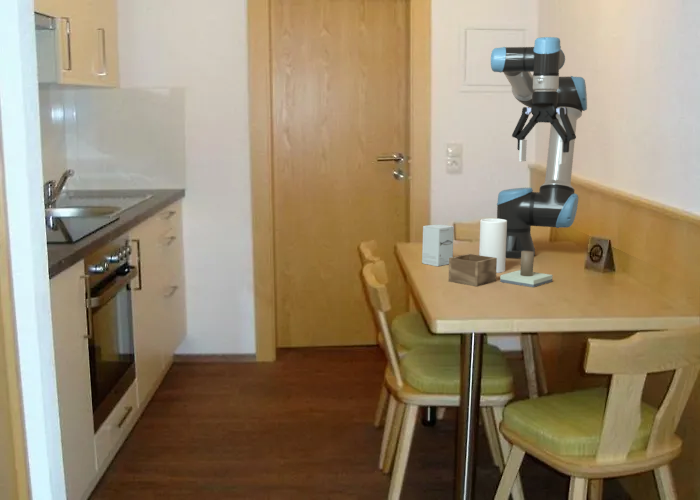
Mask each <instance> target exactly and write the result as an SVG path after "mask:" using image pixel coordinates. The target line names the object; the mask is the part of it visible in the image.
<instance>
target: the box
mask: <svg viewBox="0 0 700 500" xmlns="http://www.w3.org/2000/svg"><path fill="white" fill-rule="evenodd" d="M496 266H497V258H494V257H487V256H480V255H479V254H474V253H473V254H472V253H465V254H461V255H457V256H453V257H452V258H449V264H448V282H449V283H457V284H463V285H467V286H472V287H481V286H484V285H488V284H490V283H494V282H496V281H497V273H496Z"/></svg>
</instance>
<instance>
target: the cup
mask: <svg viewBox="0 0 700 500" xmlns="http://www.w3.org/2000/svg"><path fill="white" fill-rule="evenodd" d="M479 223H480V224H479V248H478V250H479V252H478V253H479V254H478V255H480V256H487V257H494V258H497V266H496V274H497V273H498V274H501V273H504V272H505V271H506V259H507V258H506V234H507V220H504V219H497V218H481V219H480V221H479Z"/></svg>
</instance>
